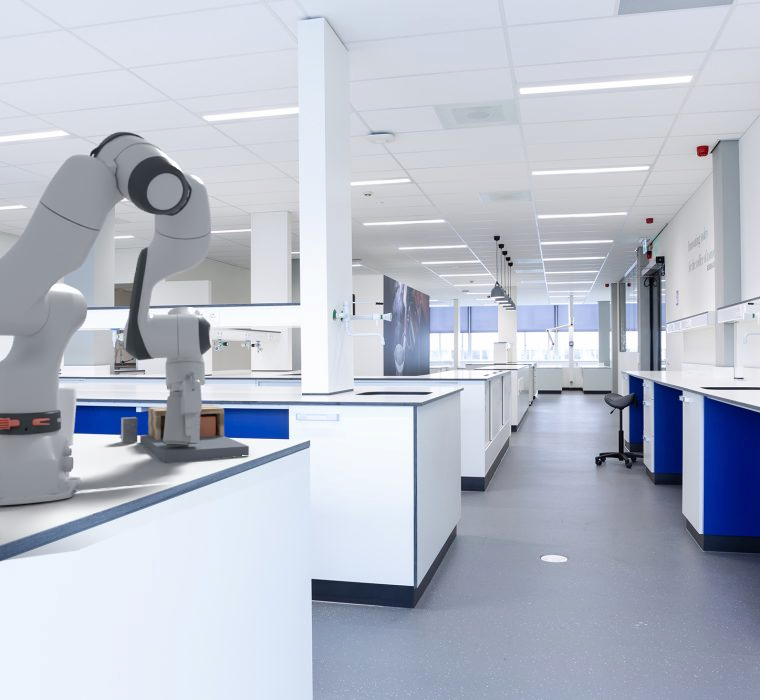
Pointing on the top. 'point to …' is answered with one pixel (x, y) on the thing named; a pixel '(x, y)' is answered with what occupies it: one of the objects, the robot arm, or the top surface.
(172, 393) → the beverage can
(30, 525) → the top surface
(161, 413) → the cubby
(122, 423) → the mallet
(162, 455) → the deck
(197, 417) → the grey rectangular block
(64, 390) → the drinking glass
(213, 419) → the cube
